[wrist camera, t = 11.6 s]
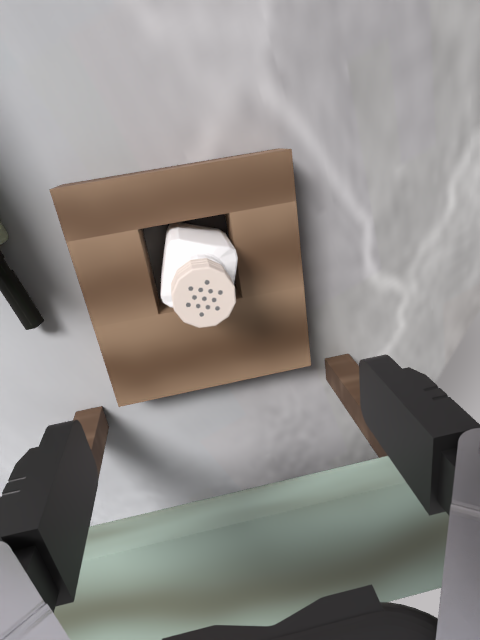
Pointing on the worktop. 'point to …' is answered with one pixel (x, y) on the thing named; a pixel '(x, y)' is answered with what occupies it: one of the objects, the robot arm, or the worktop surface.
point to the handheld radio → (17, 292)
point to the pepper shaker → (198, 274)
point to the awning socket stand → (212, 370)
